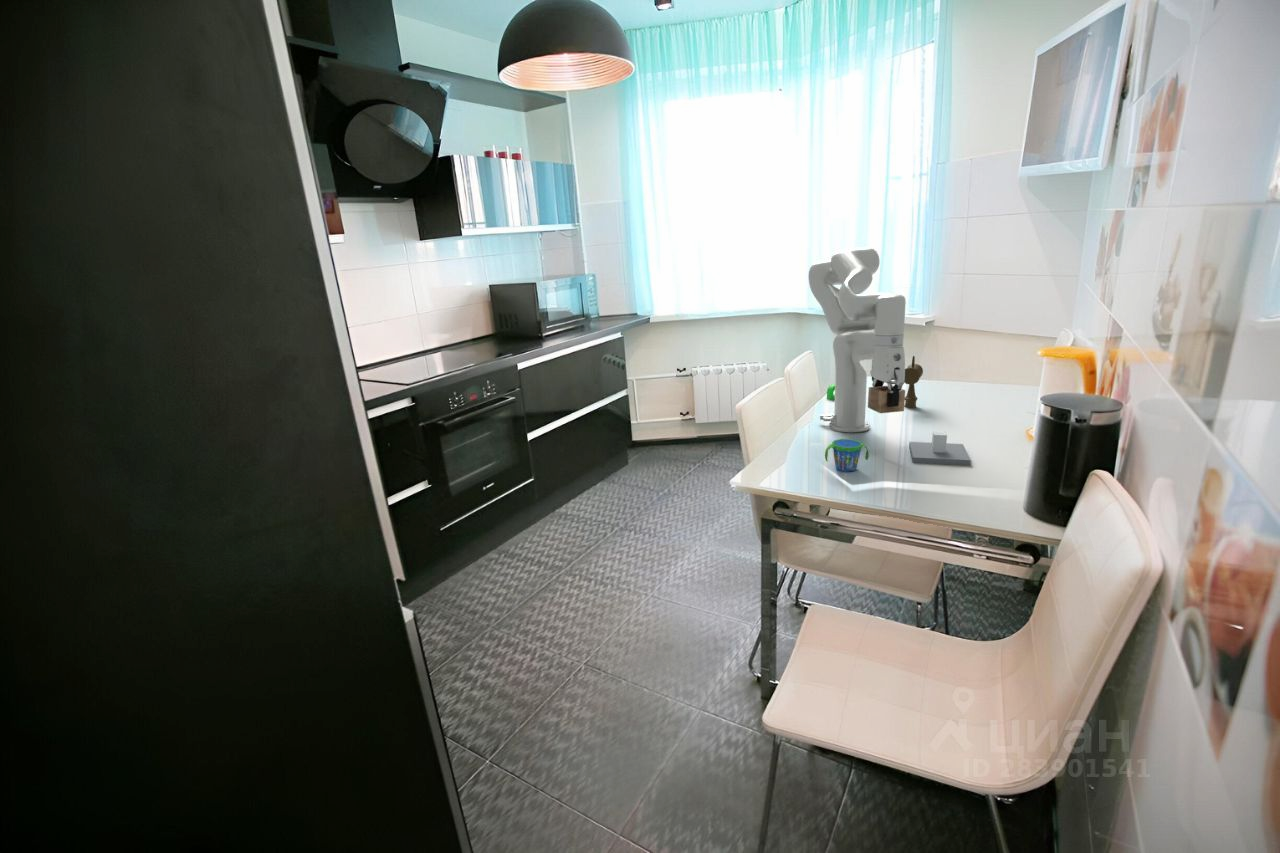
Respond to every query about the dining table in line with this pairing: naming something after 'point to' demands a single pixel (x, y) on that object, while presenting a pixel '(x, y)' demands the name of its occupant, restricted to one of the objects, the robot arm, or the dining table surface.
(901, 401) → the brown wooden square box
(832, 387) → the mechanical part
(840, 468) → the snack cup
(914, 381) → the kendama
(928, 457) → the board
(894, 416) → the dining table surface
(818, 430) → the dining table surface
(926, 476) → the dining table surface
